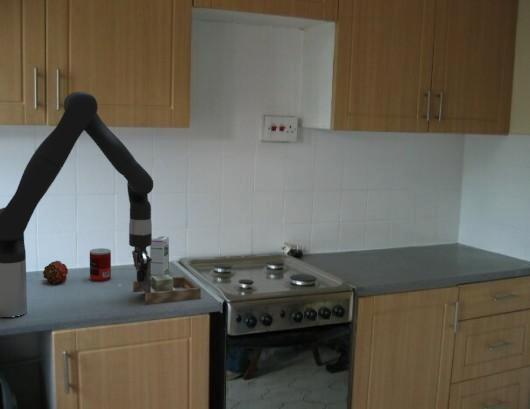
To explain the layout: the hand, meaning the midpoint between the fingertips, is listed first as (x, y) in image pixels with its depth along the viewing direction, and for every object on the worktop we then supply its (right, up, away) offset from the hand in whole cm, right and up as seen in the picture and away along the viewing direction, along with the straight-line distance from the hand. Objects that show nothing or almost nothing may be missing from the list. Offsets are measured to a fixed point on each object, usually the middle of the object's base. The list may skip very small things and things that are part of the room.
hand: (140, 281), depth 218 cm
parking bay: (+8, -6, +5) cm, 11 cm away
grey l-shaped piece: (+6, -5, +4) cm, 9 cm away
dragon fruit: (-35, -3, +18) cm, 39 cm away
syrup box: (+1, -1, +34) cm, 34 cm away
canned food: (-20, -2, +23) cm, 31 cm away
